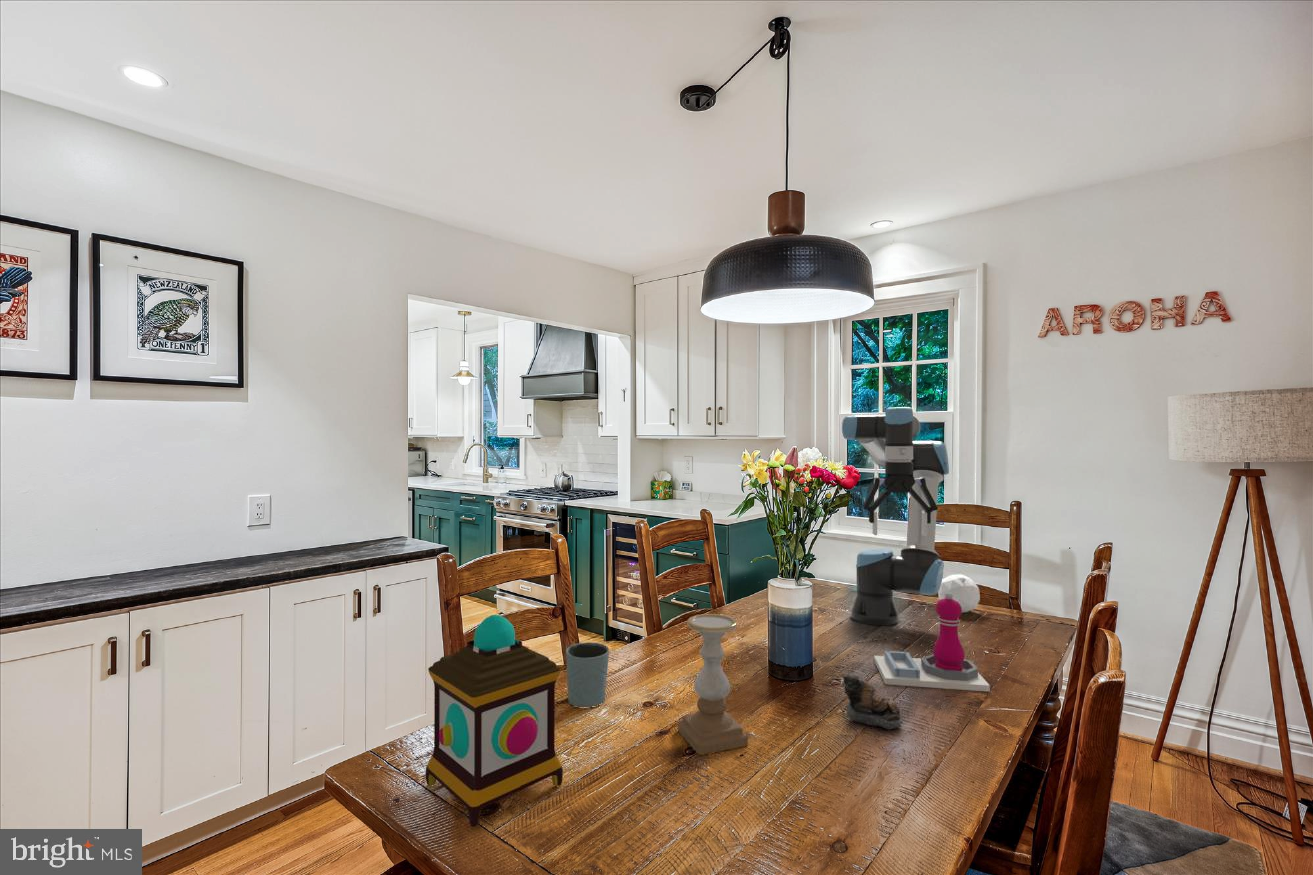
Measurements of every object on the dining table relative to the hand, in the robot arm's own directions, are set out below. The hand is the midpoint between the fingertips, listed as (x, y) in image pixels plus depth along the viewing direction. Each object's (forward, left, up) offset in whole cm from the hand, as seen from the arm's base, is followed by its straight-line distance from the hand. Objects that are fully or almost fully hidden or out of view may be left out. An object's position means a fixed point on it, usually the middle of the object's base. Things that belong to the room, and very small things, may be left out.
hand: (899, 534), depth 173 cm
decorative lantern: (+84, -85, -34) cm, 124 cm away
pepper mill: (+17, +8, -32) cm, 37 cm away
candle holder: (+60, -49, -34) cm, 84 cm away
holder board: (+17, +3, -34) cm, 38 cm away
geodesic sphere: (-47, +29, -34) cm, 65 cm away
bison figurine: (+48, -15, -34) cm, 61 cm away
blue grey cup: (+48, -79, -34) cm, 98 cm away
